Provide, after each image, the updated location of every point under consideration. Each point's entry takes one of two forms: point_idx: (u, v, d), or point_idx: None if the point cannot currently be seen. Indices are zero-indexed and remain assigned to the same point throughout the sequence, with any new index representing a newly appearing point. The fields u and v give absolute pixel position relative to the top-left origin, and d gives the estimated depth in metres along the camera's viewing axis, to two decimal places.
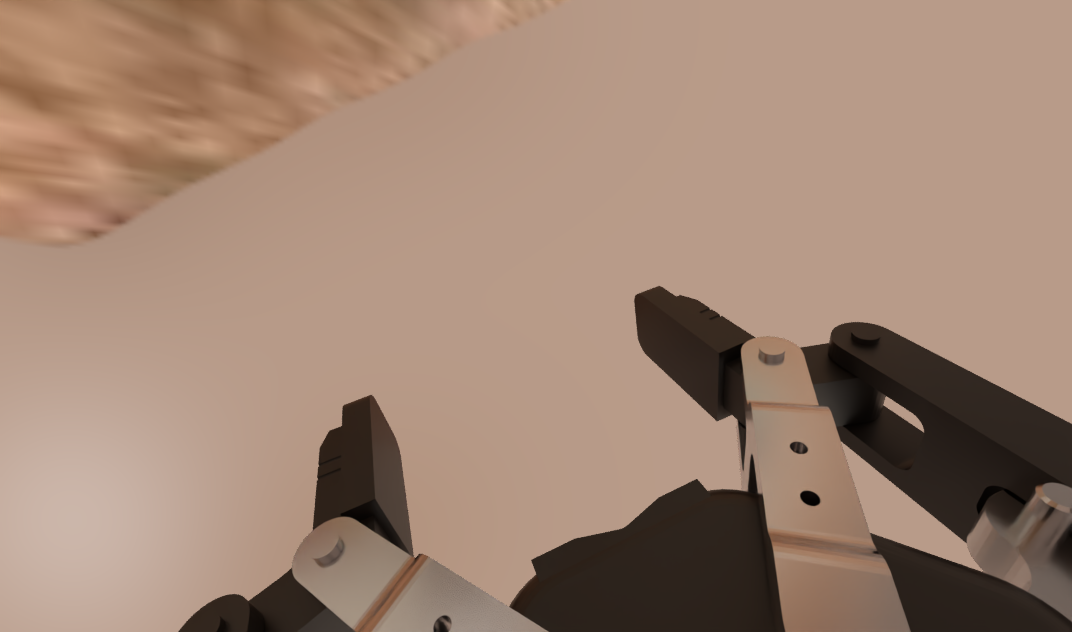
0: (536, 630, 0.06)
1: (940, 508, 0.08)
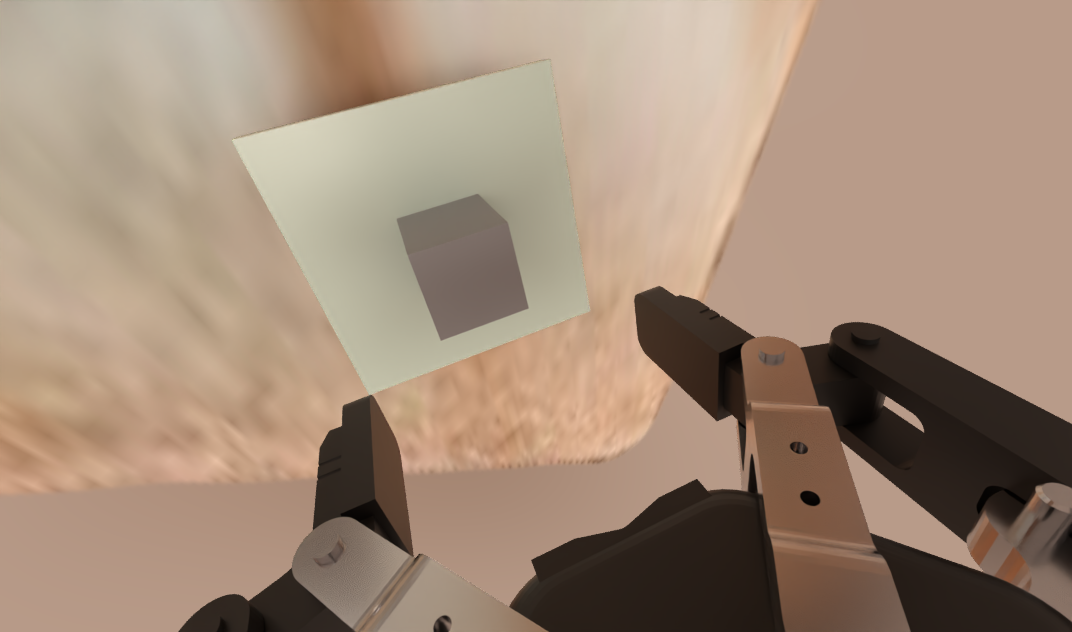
0: (536, 630, 0.06)
1: (940, 508, 0.08)
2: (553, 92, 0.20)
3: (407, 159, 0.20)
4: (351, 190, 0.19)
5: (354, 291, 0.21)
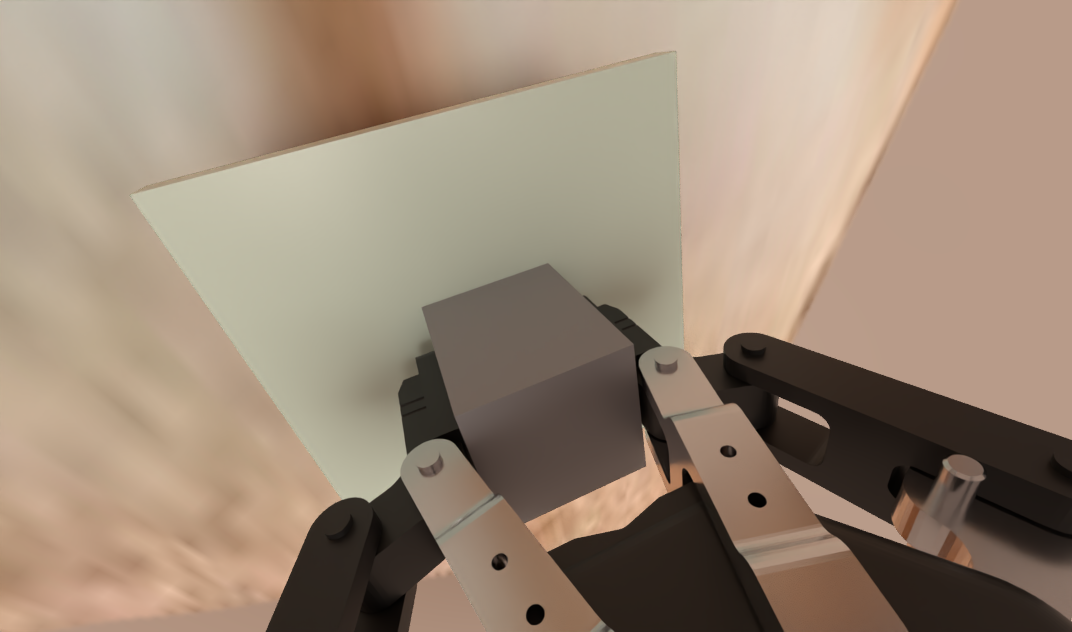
0: (579, 600, 0.06)
1: (855, 494, 0.09)
2: (674, 104, 0.13)
3: (442, 216, 0.12)
4: (349, 268, 0.12)
5: (354, 416, 0.14)
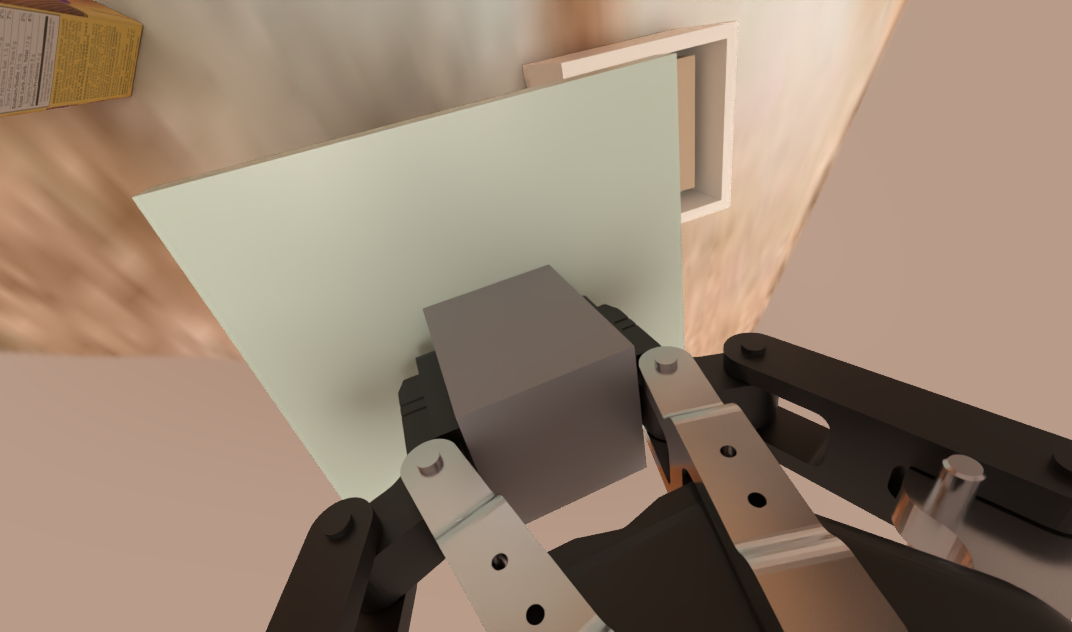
0: (579, 600, 0.06)
1: (855, 493, 0.09)
2: (674, 106, 0.13)
3: (443, 217, 0.12)
4: (350, 270, 0.12)
5: (355, 417, 0.14)
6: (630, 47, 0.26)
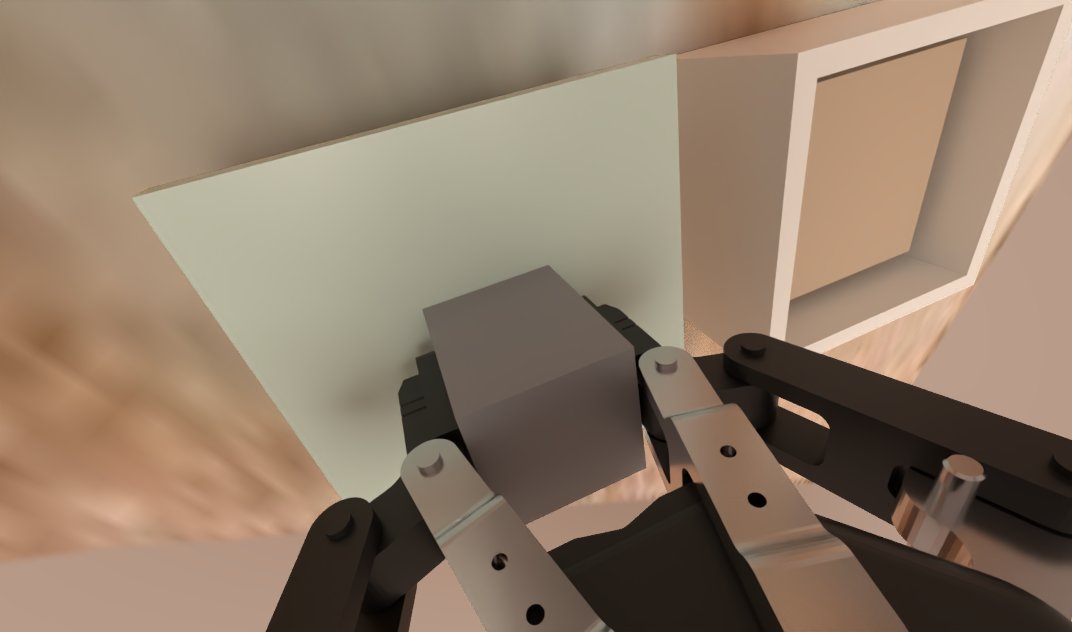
0: (579, 600, 0.06)
1: (855, 494, 0.09)
2: (674, 107, 0.13)
3: (442, 218, 0.12)
4: (350, 271, 0.12)
5: (355, 418, 0.14)
6: (917, 21, 0.13)
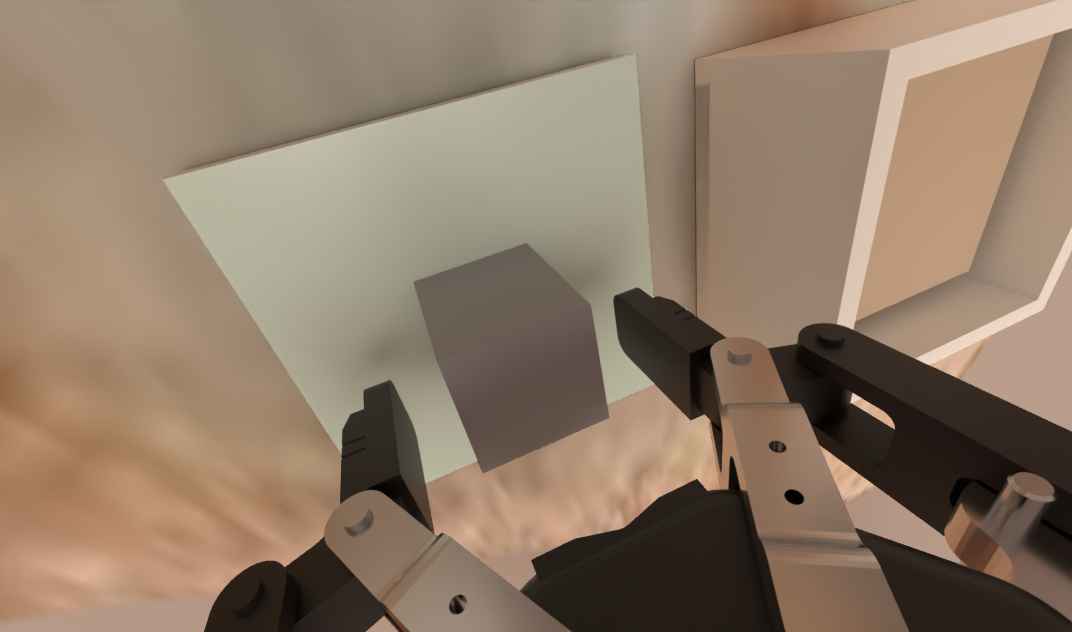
0: (548, 619, 0.06)
1: (914, 501, 0.08)
2: (636, 101, 0.14)
3: (430, 199, 0.14)
4: (349, 246, 0.13)
5: (354, 380, 0.15)
6: (1024, 11, 0.11)
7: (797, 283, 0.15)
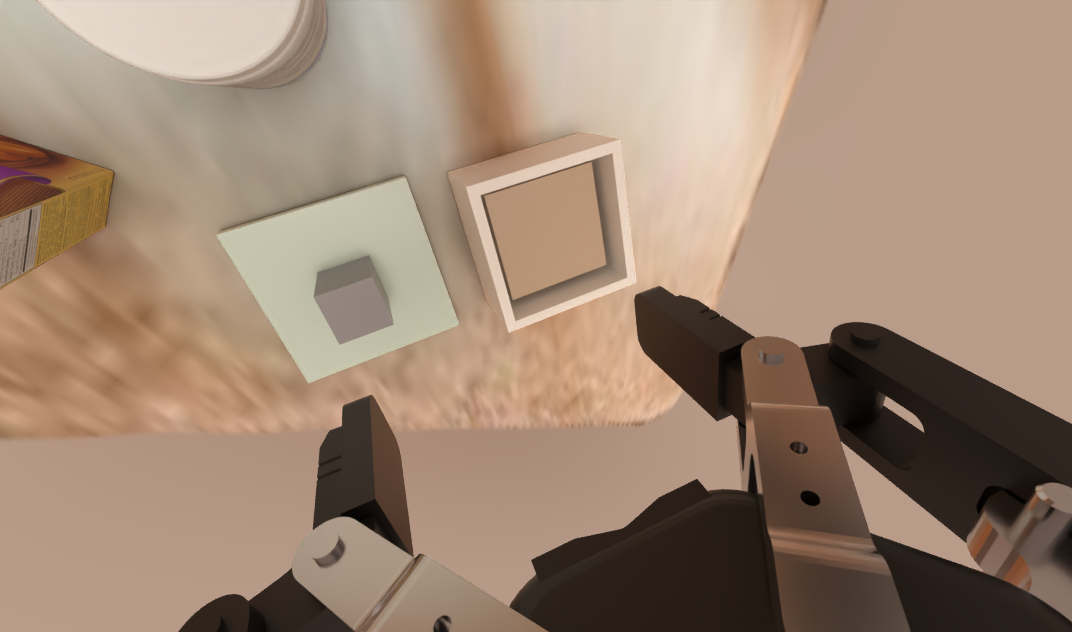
0: (536, 630, 0.06)
1: (940, 508, 0.08)
2: (410, 194, 0.34)
3: (321, 238, 0.33)
4: (288, 257, 0.33)
5: (294, 317, 0.35)
6: (526, 169, 0.31)
7: (486, 270, 0.35)
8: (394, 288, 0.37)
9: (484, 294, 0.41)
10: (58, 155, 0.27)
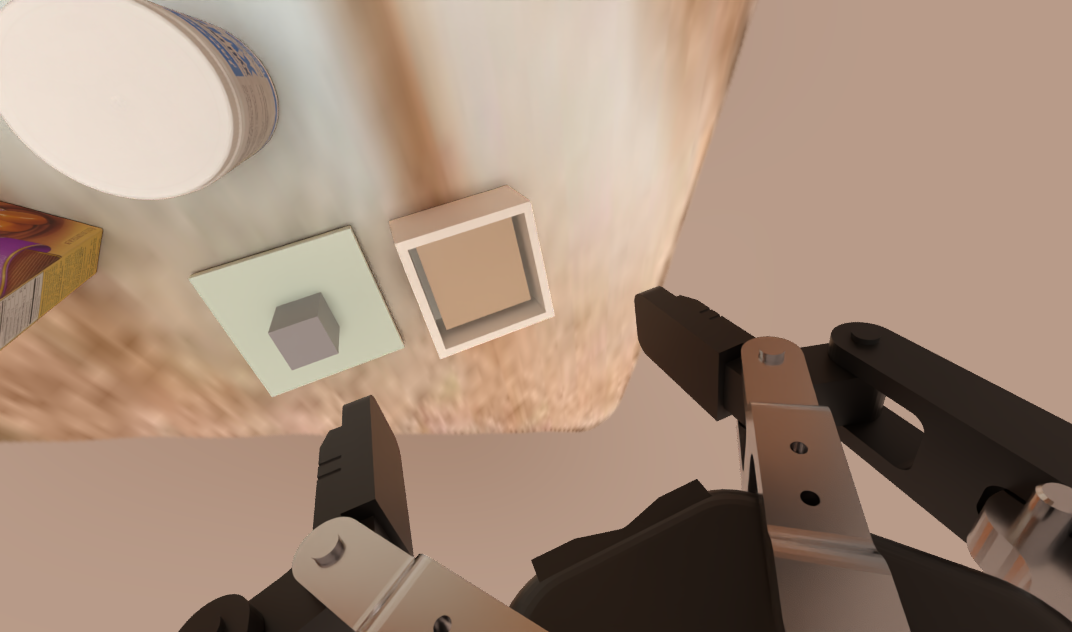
0: (536, 630, 0.06)
1: (940, 508, 0.08)
2: (355, 242, 0.40)
3: (278, 279, 0.39)
4: (250, 295, 0.39)
5: (257, 343, 0.41)
6: (447, 228, 0.37)
7: None
8: (344, 318, 0.43)
9: None
10: (57, 218, 0.33)
